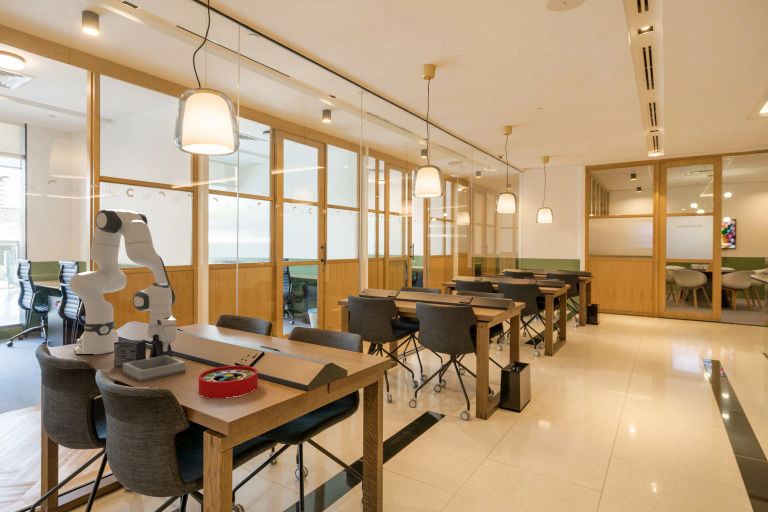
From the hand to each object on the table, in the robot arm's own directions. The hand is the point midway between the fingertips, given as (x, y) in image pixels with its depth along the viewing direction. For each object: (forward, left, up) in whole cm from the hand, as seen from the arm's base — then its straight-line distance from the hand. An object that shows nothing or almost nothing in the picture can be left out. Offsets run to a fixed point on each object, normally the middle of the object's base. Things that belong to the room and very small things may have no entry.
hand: (161, 349), depth 188 cm
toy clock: (+58, -1, -5) cm, 58 cm away
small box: (-1, -12, -5) cm, 13 cm away
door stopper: (0, 0, -5) cm, 5 cm away
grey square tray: (+17, -10, -5) cm, 20 cm away
